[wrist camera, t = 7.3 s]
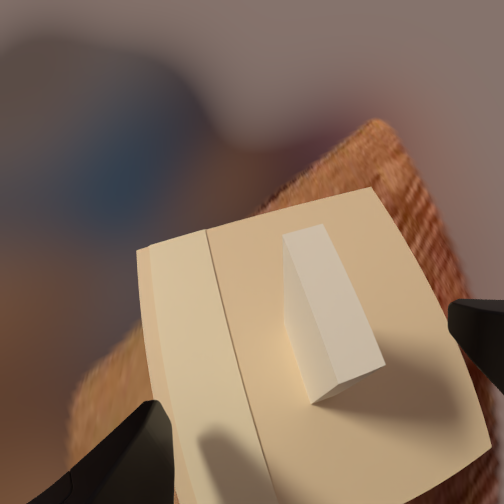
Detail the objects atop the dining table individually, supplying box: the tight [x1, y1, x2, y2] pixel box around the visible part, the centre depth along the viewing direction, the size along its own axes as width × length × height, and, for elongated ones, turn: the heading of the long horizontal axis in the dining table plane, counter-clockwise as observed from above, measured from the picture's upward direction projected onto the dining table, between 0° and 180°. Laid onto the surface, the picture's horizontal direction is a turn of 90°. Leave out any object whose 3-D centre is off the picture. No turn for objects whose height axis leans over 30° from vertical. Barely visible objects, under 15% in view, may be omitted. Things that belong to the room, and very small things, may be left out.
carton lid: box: [137, 187, 492, 504], centre depth 7 cm, size 12×10×6 cm
